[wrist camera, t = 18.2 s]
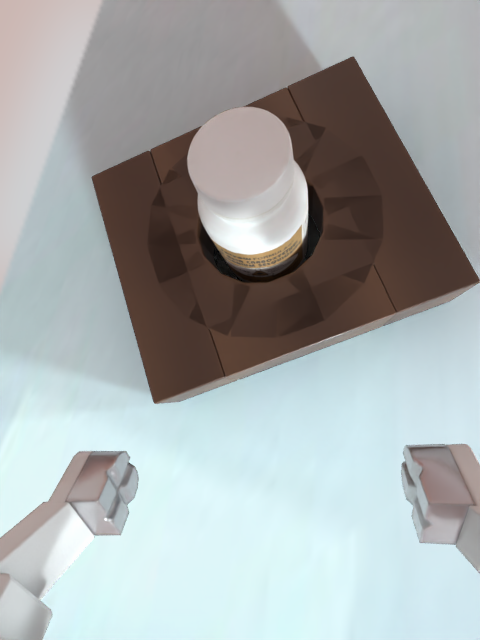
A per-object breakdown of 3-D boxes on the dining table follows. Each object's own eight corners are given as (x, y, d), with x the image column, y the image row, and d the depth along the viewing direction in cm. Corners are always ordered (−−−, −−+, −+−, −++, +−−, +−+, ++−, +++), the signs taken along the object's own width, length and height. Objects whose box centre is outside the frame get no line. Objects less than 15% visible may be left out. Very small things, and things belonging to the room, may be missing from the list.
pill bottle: (227, 292, 19) (173, 225, 11) (223, 215, 19) (171, 106, 12) (312, 283, 18) (315, 204, 10) (303, 203, 19) (301, 80, 11)
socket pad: (178, 402, 18) (153, 404, 15) (120, 206, 21) (90, 176, 18) (450, 301, 16) (481, 281, 14) (346, 105, 19) (353, 55, 16)
